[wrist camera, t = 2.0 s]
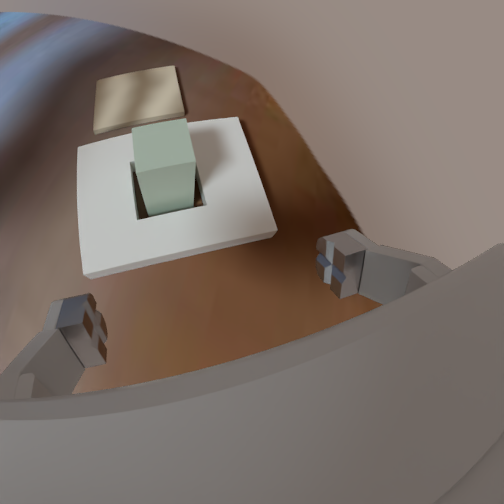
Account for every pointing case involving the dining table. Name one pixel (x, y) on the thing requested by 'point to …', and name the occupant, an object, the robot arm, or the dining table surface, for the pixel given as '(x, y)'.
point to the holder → (175, 223)
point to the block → (165, 166)
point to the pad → (137, 99)
